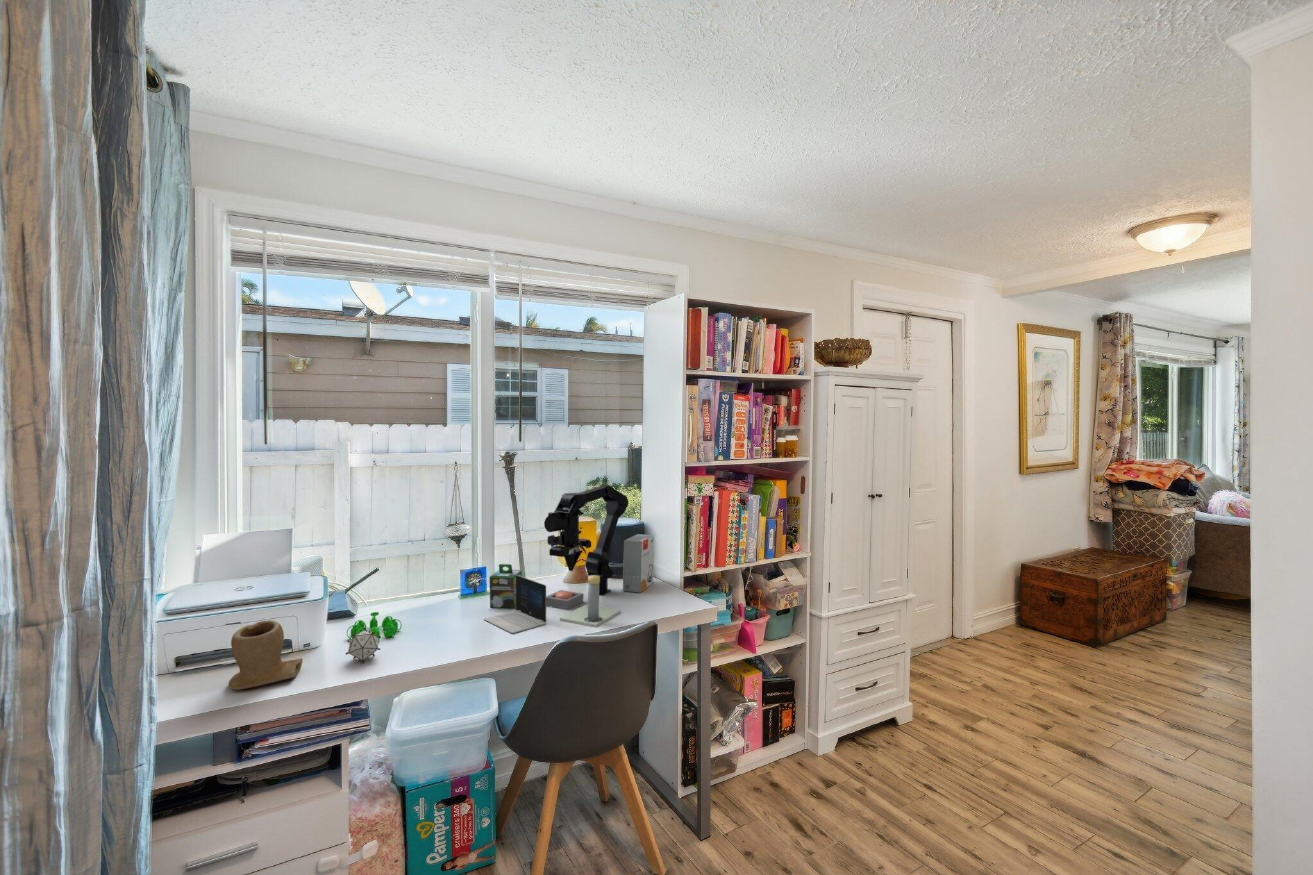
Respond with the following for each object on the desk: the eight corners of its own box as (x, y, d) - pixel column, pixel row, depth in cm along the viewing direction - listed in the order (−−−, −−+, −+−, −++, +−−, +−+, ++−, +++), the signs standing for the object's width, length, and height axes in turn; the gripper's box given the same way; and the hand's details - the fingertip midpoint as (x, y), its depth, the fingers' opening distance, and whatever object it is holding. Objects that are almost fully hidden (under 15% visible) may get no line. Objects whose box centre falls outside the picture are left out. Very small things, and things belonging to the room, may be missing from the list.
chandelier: (334, 642, 167) (334, 618, 167) (372, 625, 181) (372, 603, 181) (377, 647, 163) (377, 624, 163) (412, 629, 177) (412, 608, 177)
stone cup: (225, 700, 131) (224, 636, 131) (231, 680, 141) (230, 620, 141) (302, 684, 139) (302, 624, 139) (302, 667, 149) (302, 610, 149)
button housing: (560, 597, 210) (560, 589, 210) (583, 601, 206) (583, 593, 206) (544, 605, 201) (544, 597, 201) (567, 609, 197) (567, 601, 197)
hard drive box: (640, 593, 217) (641, 541, 216) (622, 591, 219) (622, 540, 219) (654, 583, 231) (654, 534, 231) (636, 581, 234) (636, 533, 233)
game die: (358, 676, 152) (334, 654, 147) (360, 654, 159) (338, 632, 154) (389, 658, 154) (366, 635, 149) (390, 636, 161) (368, 614, 156)
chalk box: (523, 600, 207) (523, 560, 206) (514, 609, 197) (514, 566, 197) (498, 600, 208) (498, 560, 207) (488, 608, 198) (488, 566, 198)
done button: (562, 596, 208) (562, 590, 207) (575, 599, 205) (575, 592, 205) (552, 601, 202) (552, 594, 202) (566, 603, 199) (566, 596, 199)
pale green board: (586, 606, 200) (586, 604, 200) (620, 612, 194) (620, 610, 194) (559, 620, 186) (559, 617, 186) (595, 627, 180) (595, 624, 180)
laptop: (483, 620, 186) (483, 581, 186) (516, 612, 195) (516, 574, 195) (512, 635, 173) (512, 593, 173) (546, 625, 182) (546, 585, 182)
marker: (594, 616, 188) (594, 574, 187) (601, 619, 185) (602, 576, 185) (585, 618, 185) (585, 576, 185) (592, 621, 182) (592, 578, 182)
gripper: (567, 522, 217) (567, 562, 218) (537, 530, 201) (537, 574, 201) (592, 524, 212) (592, 566, 213) (562, 533, 196) (562, 578, 196)
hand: (570, 570), depth 206 cm, fingers closed
